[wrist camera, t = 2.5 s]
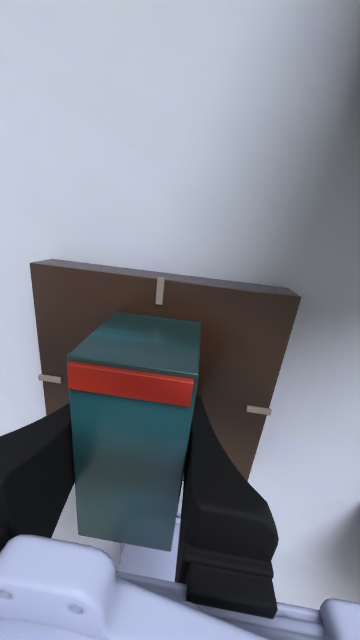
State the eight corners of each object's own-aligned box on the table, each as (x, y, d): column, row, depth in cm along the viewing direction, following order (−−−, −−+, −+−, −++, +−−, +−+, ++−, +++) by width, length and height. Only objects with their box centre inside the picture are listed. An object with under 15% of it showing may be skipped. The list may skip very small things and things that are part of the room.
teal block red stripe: (180, 460, 16) (170, 559, 11) (114, 448, 16) (75, 541, 11) (201, 322, 13) (198, 378, 8) (116, 310, 13) (62, 358, 8)
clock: (241, 466, 18) (246, 494, 16) (64, 437, 19) (48, 461, 17) (290, 286, 14) (305, 295, 12) (50, 257, 14) (24, 260, 12)
